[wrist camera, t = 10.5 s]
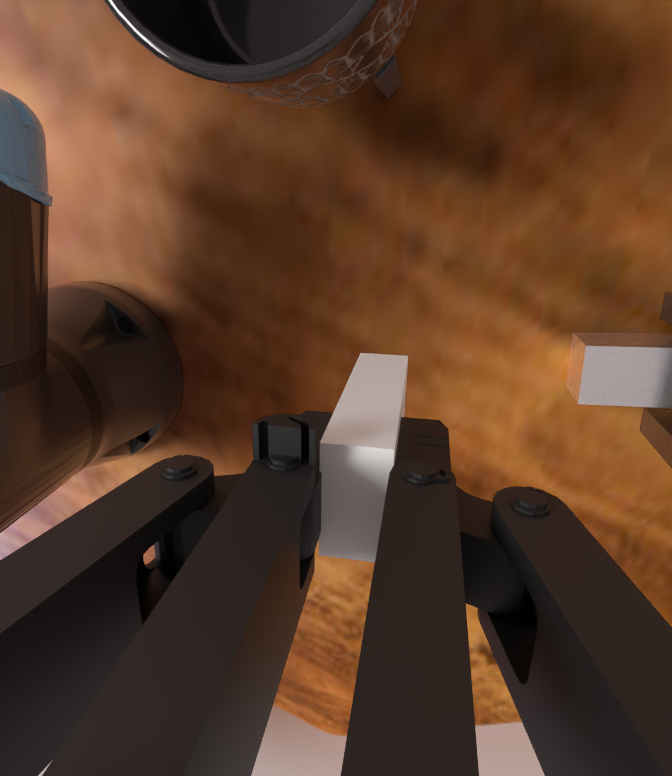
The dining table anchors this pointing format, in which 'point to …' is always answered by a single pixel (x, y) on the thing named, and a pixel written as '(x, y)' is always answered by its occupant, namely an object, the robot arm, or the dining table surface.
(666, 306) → the collar
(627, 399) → the banded white block
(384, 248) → the dining table surface
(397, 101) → the dining table surface
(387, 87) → the planter
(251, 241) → the dining table surface
